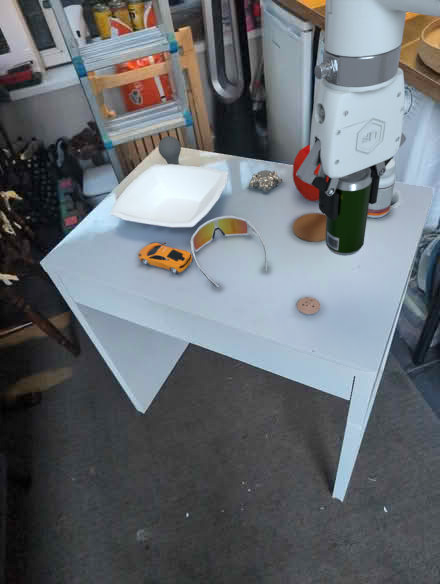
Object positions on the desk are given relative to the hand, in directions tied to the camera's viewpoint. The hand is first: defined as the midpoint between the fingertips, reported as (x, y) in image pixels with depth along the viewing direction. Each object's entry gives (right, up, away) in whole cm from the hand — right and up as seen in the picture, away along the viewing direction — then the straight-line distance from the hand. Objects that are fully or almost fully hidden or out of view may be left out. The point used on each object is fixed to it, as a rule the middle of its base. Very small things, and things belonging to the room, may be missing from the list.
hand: (347, 205), depth 58 cm
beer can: (+1, -5, +5) cm, 7 cm away
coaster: (+3, +2, +32) cm, 32 cm away
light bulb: (-29, +19, +55) cm, 65 cm away
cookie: (-2, -14, +18) cm, 23 cm away
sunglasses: (-15, -5, +30) cm, 34 cm away
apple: (+4, +10, +40) cm, 41 cm away
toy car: (-28, -5, +31) cm, 43 cm away
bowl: (-27, +7, +43) cm, 51 cm away
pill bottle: (+16, +6, +34) cm, 38 cm away
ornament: (-6, +13, +45) cm, 47 cm away
